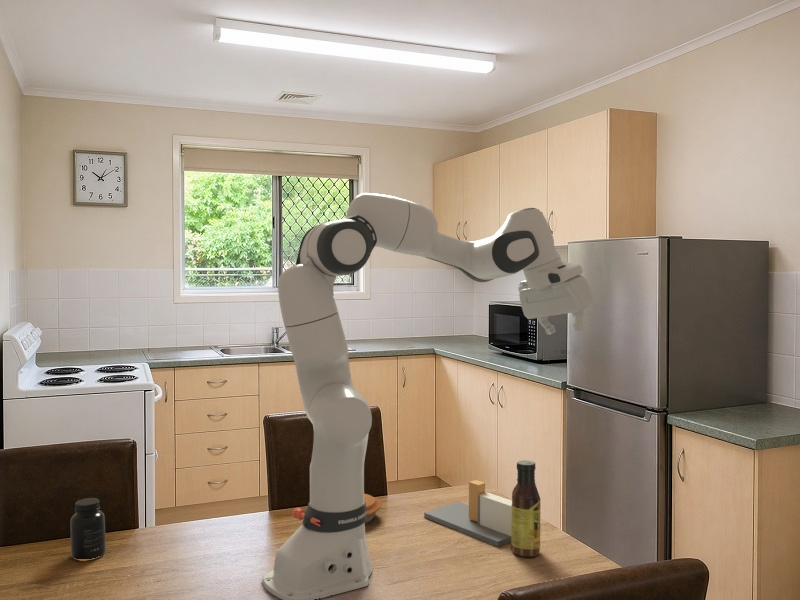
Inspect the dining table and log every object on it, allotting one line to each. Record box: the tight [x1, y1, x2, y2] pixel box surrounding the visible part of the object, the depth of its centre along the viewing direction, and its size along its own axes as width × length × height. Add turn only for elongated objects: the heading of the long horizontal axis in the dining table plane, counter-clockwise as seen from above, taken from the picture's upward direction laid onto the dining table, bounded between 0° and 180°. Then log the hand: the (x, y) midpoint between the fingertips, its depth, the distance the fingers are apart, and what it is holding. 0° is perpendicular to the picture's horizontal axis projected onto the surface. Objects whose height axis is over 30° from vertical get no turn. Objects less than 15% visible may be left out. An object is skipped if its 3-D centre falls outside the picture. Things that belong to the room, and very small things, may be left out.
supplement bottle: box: [69, 497, 107, 559], centre depth 149 cm, size 7×7×12 cm
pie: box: [364, 493, 383, 524], centre depth 171 cm, size 15×16×5 cm
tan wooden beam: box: [468, 479, 486, 522], centre depth 166 cm, size 2×3×9 cm
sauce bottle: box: [510, 459, 541, 558], centre depth 150 cm, size 7×6×20 cm
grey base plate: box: [423, 491, 512, 548], centre depth 166 cm, size 12×24×8 cm, turn 41°
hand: (565, 332), depth 158 cm, fingers open, 8 cm apart
